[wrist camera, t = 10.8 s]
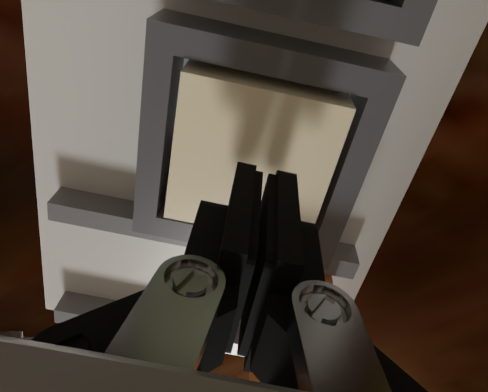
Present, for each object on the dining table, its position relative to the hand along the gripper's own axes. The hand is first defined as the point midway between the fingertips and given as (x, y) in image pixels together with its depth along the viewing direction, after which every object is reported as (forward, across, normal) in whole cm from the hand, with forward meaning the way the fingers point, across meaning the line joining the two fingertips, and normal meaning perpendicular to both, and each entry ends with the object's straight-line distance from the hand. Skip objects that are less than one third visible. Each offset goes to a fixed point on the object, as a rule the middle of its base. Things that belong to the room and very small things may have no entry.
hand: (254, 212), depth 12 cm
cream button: (+4, 0, -1) cm, 4 cm away
